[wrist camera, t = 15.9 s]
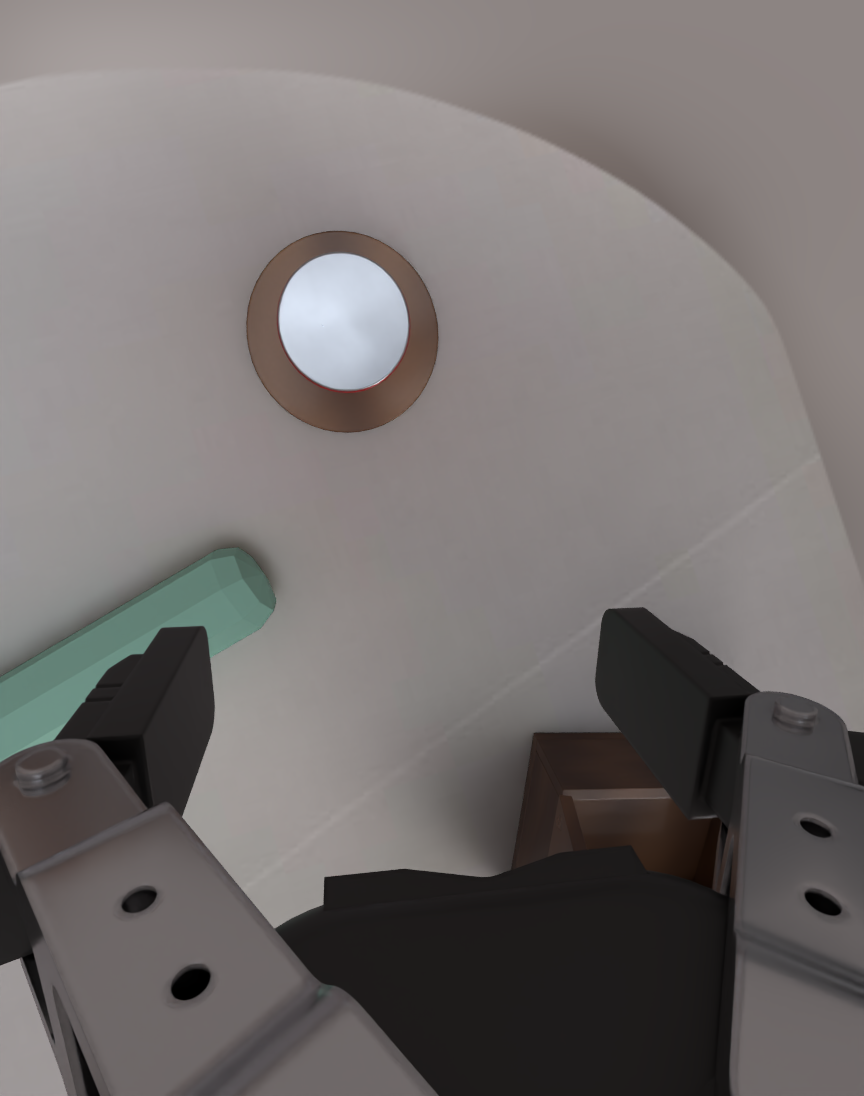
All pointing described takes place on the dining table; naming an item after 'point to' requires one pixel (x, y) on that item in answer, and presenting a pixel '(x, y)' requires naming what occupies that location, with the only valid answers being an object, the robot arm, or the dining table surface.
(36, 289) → the dining table surface
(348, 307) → the can
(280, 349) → the coaster
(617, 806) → the chest
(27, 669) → the container
